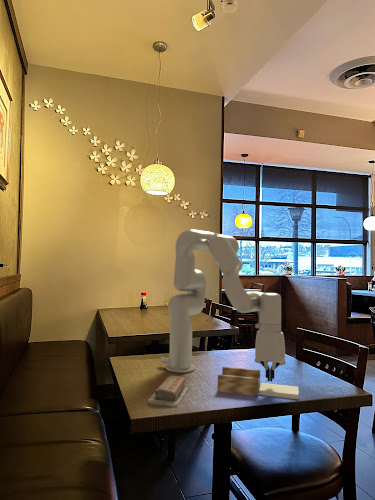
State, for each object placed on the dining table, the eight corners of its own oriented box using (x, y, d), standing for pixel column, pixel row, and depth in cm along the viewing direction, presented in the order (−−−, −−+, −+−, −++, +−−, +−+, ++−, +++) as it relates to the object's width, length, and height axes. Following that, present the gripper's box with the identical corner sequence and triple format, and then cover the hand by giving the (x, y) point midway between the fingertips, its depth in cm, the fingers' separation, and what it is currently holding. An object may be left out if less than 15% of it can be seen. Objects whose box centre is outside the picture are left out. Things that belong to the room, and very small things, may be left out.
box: (217, 391, 124) (217, 375, 124) (222, 381, 135) (222, 366, 135) (258, 396, 120) (258, 379, 121) (260, 385, 131) (260, 370, 131)
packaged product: (163, 373, 130) (190, 375, 128) (163, 386, 130) (189, 389, 128) (147, 389, 112) (178, 392, 110) (147, 405, 112) (177, 408, 110)
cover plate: (259, 396, 122) (259, 390, 122) (261, 388, 130) (261, 382, 130) (298, 400, 118) (298, 394, 118) (298, 392, 126) (298, 386, 126)
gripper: (247, 328, 124) (247, 381, 123) (292, 331, 120) (292, 385, 119) (249, 325, 131) (249, 375, 131) (291, 327, 127) (291, 379, 127)
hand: (270, 380), depth 125 cm, fingers closed
